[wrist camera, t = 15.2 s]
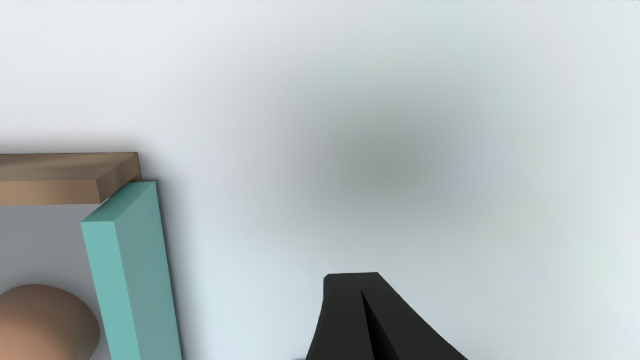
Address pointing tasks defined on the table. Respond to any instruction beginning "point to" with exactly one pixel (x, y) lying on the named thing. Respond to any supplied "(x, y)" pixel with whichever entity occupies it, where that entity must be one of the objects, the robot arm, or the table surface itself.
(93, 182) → the housing
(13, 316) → the tan short cylinder
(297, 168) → the table surface
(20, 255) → the tray
